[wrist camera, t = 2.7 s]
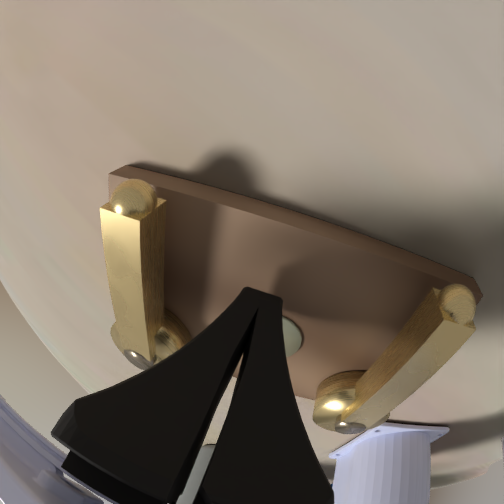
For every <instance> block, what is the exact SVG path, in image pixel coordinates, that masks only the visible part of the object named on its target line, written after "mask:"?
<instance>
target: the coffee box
mask: <svg viewBox="0 0 504 504" xmlns="http://www.w3.org/2000/svg"><path fill="white" fill-rule="evenodd" d="M501 441H502V450H503V462H504V437H502V438H501Z"/></svg>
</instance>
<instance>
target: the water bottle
mask: <svg viewBox="0 0 504 504" xmlns="http://www.w3.org/2000/svg"><path fill="white" fill-rule="evenodd" d="M215 446H216V445H205V446H202V447H201V449H200V451H199V454H198V456H197V459H196V462H195V464H194V467H193V469H192V472H191V474H190V477H189V479H188V482H187V484H186V487H185V489H184V492H183V494H182V495H180V496H179V498H178V500H177V503H176V504H192V503H193V501H194V498H195V496H196V493H197V491H198V488H199V486H200V483H201V481H202V479H203V476H204V474H205V471H206V469H207V466H208V464H209V461H210V458H211V456H212V453H213V451H214V448H215Z"/></svg>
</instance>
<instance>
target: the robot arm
mask: <svg viewBox="0 0 504 504" xmlns="http://www.w3.org/2000/svg"><path fill="white" fill-rule="evenodd" d="M282 308H283V300H282V298H281V297H278V296H275V295H272V294H269V293H266V292H263V291H260V290H257V289H254V288H251V287H248V286H247V287H244V288H243V289H242V291H241V292H240V294H239V295H238V296H237V297H236V299H235V300H234V301H233V302H232V303H231V304H230V305H229V306H228V307H227V308H226V310H225V311H224V312H223V313H221V314H220V315H219V316H218V317H217V318H216V319H215V320H214V321H213V322H212V323H211V324H210V325H209V326H208V327H206V328H205V329H204V330H203V331H202V332H200V333H199V334H198V335H197V336H196V337H194V338H193V339H192V340H191V341H189V342H188V343H187V344H185V345H184V346H183V347H181V348H180V349H179V350H177V351H176V352H174V353H173V354H171V355H170V356H168V357H167V358H165V359H163V360H162V361H160V362H158V363H157V364H155V365H153V366H152V367H150V368H148V369H147V370H145V371H143V372H141V373H139V374H137V375H135V376H133V377H131V378H129V379H127V380H125V381H122V382H120V383H118V384H116V385H114V386H111V387H109V388H107V389H104V390H101V391H98V392H96V393H93V394H90V395H87V396H84V397H81V398H79V399H76V400H75V401H74V402H73V403H72V404H71V405H70V406H69V407H68V409H67V410H66V411H65V412H64V413H63V415H62V416H61V417H60V419H59V421H58V422H57V424H56V425H55V427H54V428H53V430H52V431H51V435H52V437H54V438H55V439H56V440H57V441H59V442H60V443H61V444H63V445H64V446H65V447H67V448H68V449H70V452H69V453H68V455H67V454H65V453H64V452H63V451H61V450H60V449H58V448H57V447H56V446H55V445H53V444H52V443H51V442H49V441H48V440H47V439H46V438H45V437H43V436H42V435H41V434H40V433H39V432H38V431H36V430H35V429H34V428H33V427H32V426H31V425H30V424H28V423H27V422H26V421H25V420H24V419H23V418H22V417H21V416H20V415H19V414H18V413H17V412H16V411H14V410H13V409H12V408H11V407H10V406H9V404H8V403H6V401H5V399H4V398H3V397H2V396H1V395H0V499H1V501H2V502H3V503H4V504H104V502H103V501H102V500H101V499H100V498H98V497H97V496H95V495H94V494H93V493H91V492H90V491H92V492H94V493H95V494H97V495H99V496H100V497H102V498H104V499H106V500H107V501H109V502H111V503H113V504H167V503H169V504H176V503H177V500H178V498H179V496H180V495H182V494H183V492H184V489H185V487H186V484H187V482H188V479H189V477H190V474H191V472H192V469H193V467H194V464H195V462H196V459H197V456H198V454H199V451H200V449H201V446H202V444H203V441H204V439H205V436H206V434H207V431H208V429H209V426H210V424H211V421H212V418H213V416H214V413H215V411H216V409H217V406H218V404H219V402H220V400H221V398H222V396H223V394H224V392H225V390H226V388H227V386H228V384H229V382H230V380H231V378H232V376H233V374H234V372H235V370H236V368H237V365H238V363H239V361H240V359H241V357H242V355H243V357H242V361H241V365H240V369H239V373H238V377H237V381H236V385H235V388H234V392H233V396H232V400H231V404H230V407H229V410H228V414H227V417H226V419H225V422H224V425H223V427H222V430H221V432H220V435H219V438H218V440H217V443H216V446H215V448H214V451H213V453H212V456H211V458H210V461H209V464H208V466H207V469H206V471H205V474H204V476H203V479H202V481H201V483H200V486H199V488H198V491H197V493H196V496H195V498H194V501H193V503H192V504H429V498H430V476H431V455H430V443H432V442H433V441H435V440H437V439H438V438H440V437H442V436H443V435H445V434H447V433H448V432H449V427H435V426H418V425H406V424H397V423H388V422H384V423H383V424H381V425H380V426H378V427H375V428H373V429H369V430H367V431H366V432H364V433H363V434H361V435H360V436H358V437H356V438H355V439H353V440H352V441H350V442H349V443H347V444H345V445H344V446H342V447H340V448H339V449H337V450H335V451H334V452H332V453H330V454H329V458H332V459H337V462H336V468H335V475H334V481H333V486H332V487H331V485H330V483H329V481H328V479H327V478H326V476H325V474H324V472H323V470H322V468H321V466H320V464H319V461H318V459H317V457H316V455H315V452H314V450H313V448H312V445H311V443H310V440H309V438H308V435H307V432H306V430H305V427H304V424H303V422H302V419H301V416H300V412H299V409H298V406H297V403H296V399H295V395H294V392H293V388H292V383H291V379H290V374H289V369H288V364H287V358H286V351H285V343H284V335H283V321H282ZM63 472H64V473H65V474H67V475H68V476H69V477H71V478H72V479H74V480H75V481H77V482H78V483H80V484H81V485H83V486H84V487H86V488H87V489H89V490H90V491H89V490H87V489H85V488H84V487H82V486H81V485H79V484H77V483H75V482H73V481H71V480H69V479H67V478H65V477H64V476H63Z"/></svg>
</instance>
